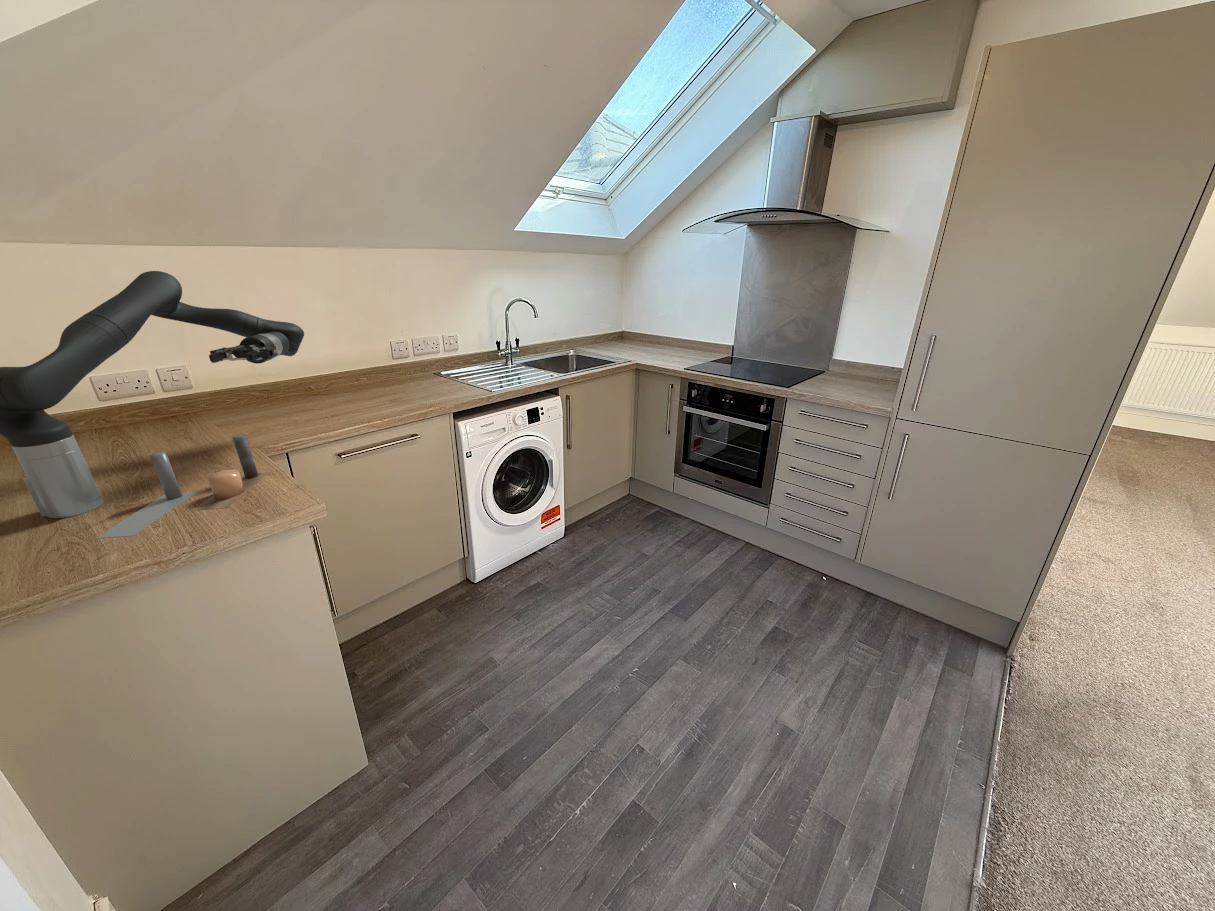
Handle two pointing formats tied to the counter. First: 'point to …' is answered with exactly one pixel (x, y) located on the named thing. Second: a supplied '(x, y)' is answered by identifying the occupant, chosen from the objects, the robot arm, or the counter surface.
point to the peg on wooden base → (248, 477)
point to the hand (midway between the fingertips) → (229, 358)
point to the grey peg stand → (156, 507)
